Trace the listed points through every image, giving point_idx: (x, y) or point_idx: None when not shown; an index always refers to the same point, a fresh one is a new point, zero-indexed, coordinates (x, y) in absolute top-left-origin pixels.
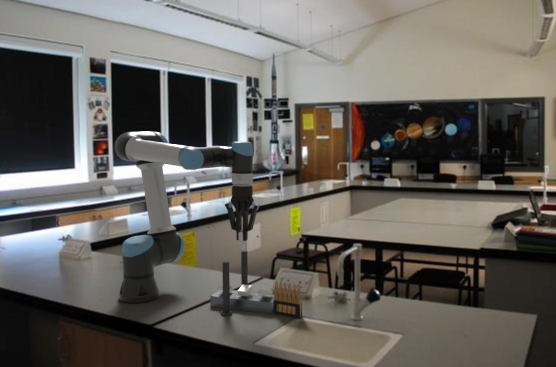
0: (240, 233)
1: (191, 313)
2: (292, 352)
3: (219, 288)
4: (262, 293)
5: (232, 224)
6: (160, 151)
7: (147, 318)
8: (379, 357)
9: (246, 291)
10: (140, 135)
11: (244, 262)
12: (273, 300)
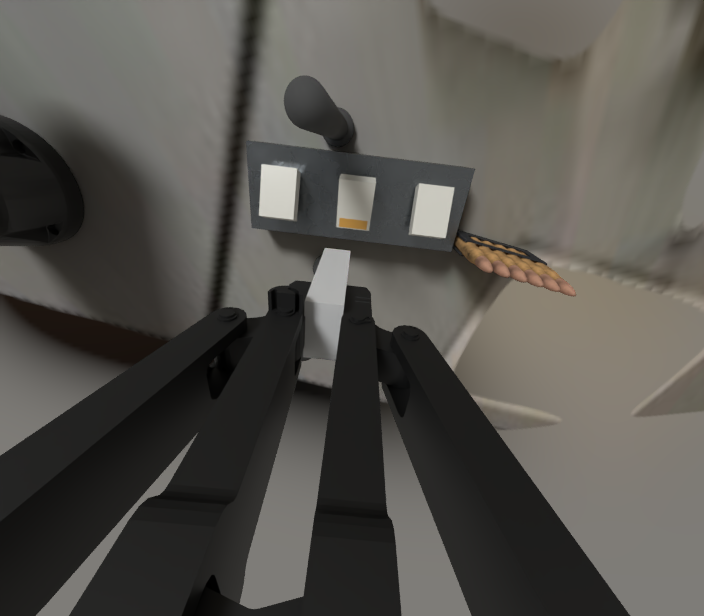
0: (320, 352)
1: (244, 278)
2: (492, 407)
3: (268, 217)
4: (423, 236)
5: (213, 396)
6: None
7: (174, 322)
8: (641, 404)
9: (367, 228)
10: None
11: (324, 132)
12: (455, 231)
